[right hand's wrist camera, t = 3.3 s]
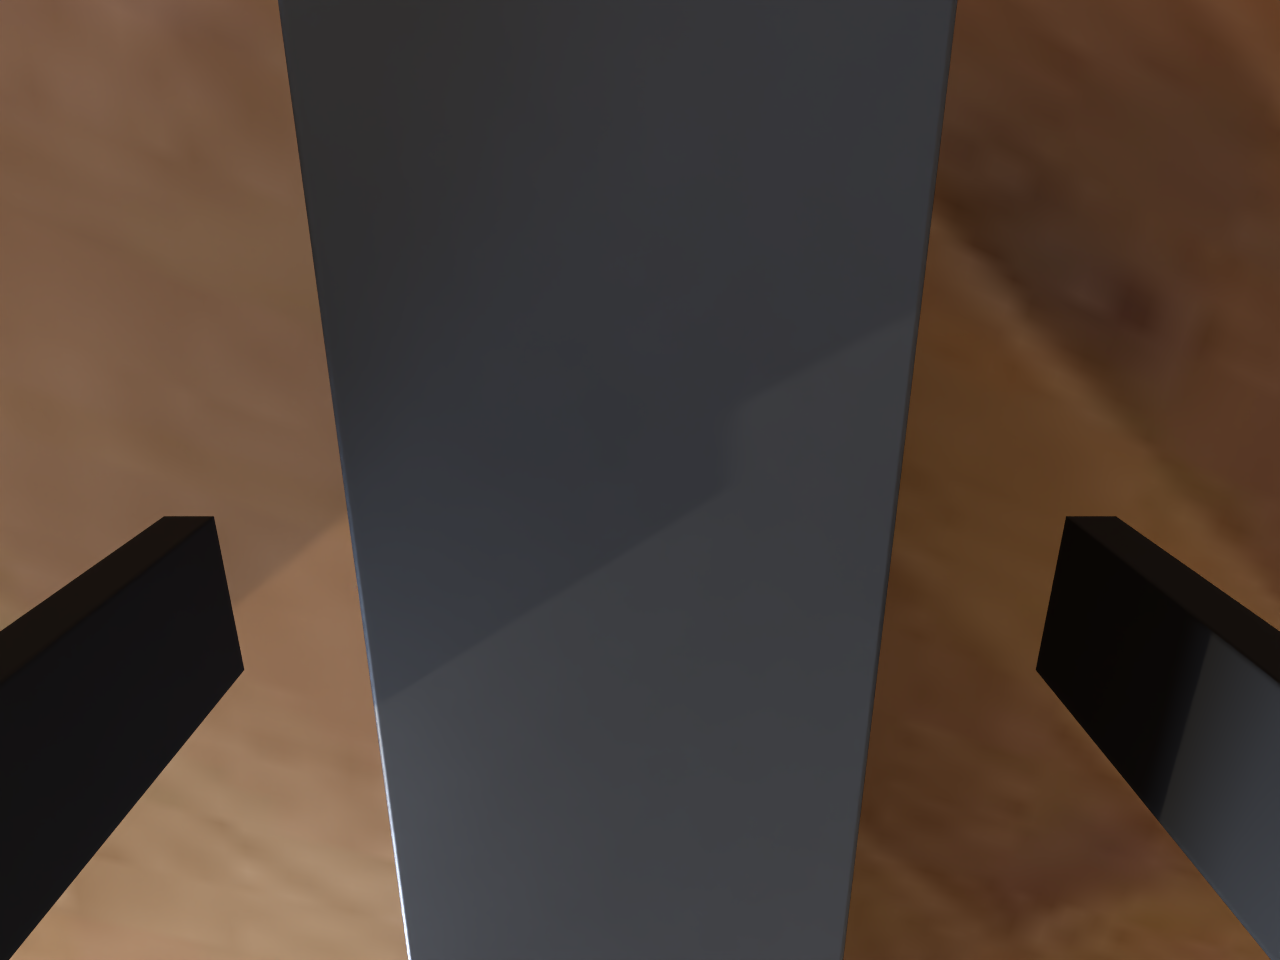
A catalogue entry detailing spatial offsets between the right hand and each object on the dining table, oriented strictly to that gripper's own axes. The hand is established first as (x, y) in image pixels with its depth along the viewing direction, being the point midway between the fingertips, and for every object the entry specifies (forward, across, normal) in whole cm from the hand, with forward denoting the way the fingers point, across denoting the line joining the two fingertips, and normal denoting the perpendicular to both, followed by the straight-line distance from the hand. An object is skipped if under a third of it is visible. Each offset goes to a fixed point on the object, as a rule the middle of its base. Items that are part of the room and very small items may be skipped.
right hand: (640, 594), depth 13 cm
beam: (+4, 0, -20) cm, 20 cm away
